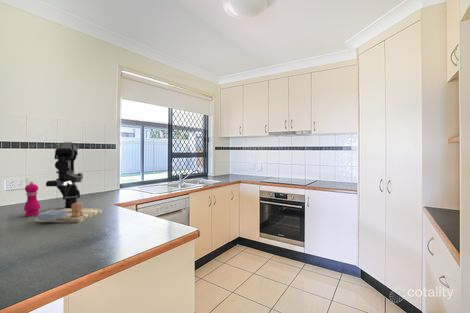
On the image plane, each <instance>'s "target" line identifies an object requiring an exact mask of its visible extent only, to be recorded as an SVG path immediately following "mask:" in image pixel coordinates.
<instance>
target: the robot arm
mask: <svg viewBox="0 0 470 313" xmlns="http://www.w3.org/2000/svg"><path fill="white" fill-rule="evenodd" d="M78 149H79V148H78V147H77V146H76V145H75V144H74V142H69V141H68V142H67V141H66V142H63V144H62V146H57V147H56V148H55V151H54V160H57V161H56V162H55V164H54V168H55V169H56V172H55V173H56V174H57V175H58V178H56V179H53V180H47V181H46V182H45V187H56V188H57V189H58V190H59V192H60V194H61V195H62V200H65V201H64V204H65V205H64V207H63V209H64V208H67V209H72V205H71V204H74V203H78V199H80V198H81V192H80V189H78V186H77V184H76V183H82V180H83V179H84V178H83V176H84V175H83V173H81V172H78V173H75V161H76V160H77V157H78V155H79V151H78Z"/></svg>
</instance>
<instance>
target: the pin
mask: <svg viewBox="0 0 470 313" xmlns="http://www.w3.org/2000/svg"><path fill="white" fill-rule="evenodd" d="M71 205H72V217H80V216H82V209H83V202H77V203H74V204H71Z"/></svg>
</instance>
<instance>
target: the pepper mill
mask: <svg viewBox="0 0 470 313" xmlns="http://www.w3.org/2000/svg"><path fill="white" fill-rule="evenodd" d="M24 191H25V192H26V195H25V196H26V198H27V199H26V202H25V203H24V207H23V211H24V212H25V213H24V216H25V217H34V216H37V214H40V210H41V204H40V202H39V200H38V198H37V195H38V191H39V186H38V185H37V184H35V183H34V181H30V182H29V184H27V185H25V187H24Z"/></svg>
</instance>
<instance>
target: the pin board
mask: <svg viewBox="0 0 470 313" xmlns="http://www.w3.org/2000/svg"><path fill="white" fill-rule="evenodd" d="M60 210H67V216H64V217H62V218H59V219H56V220H38V218H37V217H35V218H34V219H35V220H34V222H36V223H37V222H38V223H39V222H40V223H80V222H83V221H85V220H87V219H90V218H91V217H94V216H96V215H98V213H99V214H101V213H102V211H103V210H102V208H82V216H80V217H72V209H71V208H64V207H63V208H61V209H60Z"/></svg>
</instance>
